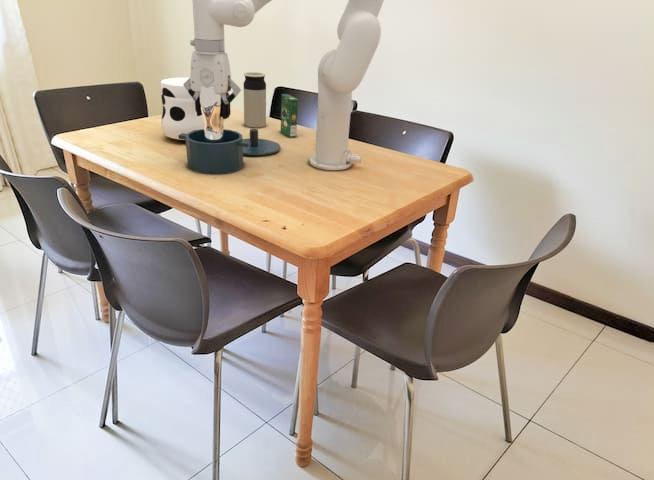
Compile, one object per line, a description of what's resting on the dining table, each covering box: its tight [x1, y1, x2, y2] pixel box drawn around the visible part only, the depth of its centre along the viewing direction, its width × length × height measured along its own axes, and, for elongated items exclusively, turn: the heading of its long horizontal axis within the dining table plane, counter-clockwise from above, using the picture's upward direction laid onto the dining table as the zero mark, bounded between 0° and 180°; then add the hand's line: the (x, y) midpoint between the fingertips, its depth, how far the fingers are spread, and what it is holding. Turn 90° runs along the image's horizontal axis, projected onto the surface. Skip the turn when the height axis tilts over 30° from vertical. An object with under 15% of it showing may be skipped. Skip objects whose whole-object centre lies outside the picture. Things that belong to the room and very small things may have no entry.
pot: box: [178, 128, 251, 175], centre depth 145 cm, size 16×21×8 cm
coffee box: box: [280, 93, 299, 138], centre depth 175 cm, size 8×3×13 cm, turn 27°
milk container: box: [160, 76, 204, 143], centre depth 165 cm, size 17×17×18 cm
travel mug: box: [243, 71, 267, 129], centre depth 183 cm, size 8×8×18 cm
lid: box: [242, 128, 281, 156], centre depth 160 cm, size 17×17×6 cm
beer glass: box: [199, 86, 225, 143], centre depth 139 cm, size 7×7×15 cm
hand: (213, 116), depth 140 cm, fingers closed on beer glass, 7 cm apart
